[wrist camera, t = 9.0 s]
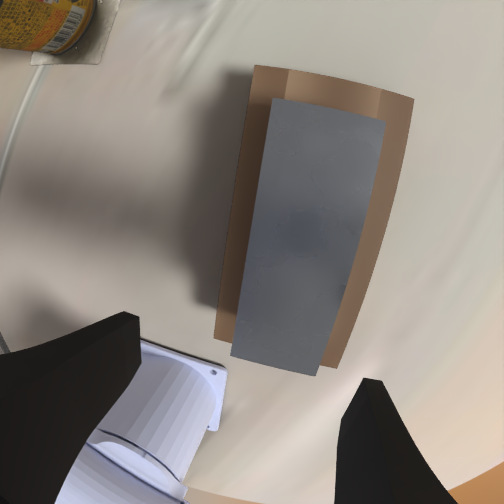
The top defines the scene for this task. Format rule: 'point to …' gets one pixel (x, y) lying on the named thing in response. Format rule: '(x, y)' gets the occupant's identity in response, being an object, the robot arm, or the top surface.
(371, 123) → the tall grey block
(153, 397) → the robot arm
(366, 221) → the brown slotted tray
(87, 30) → the condiment
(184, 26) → the top surface
